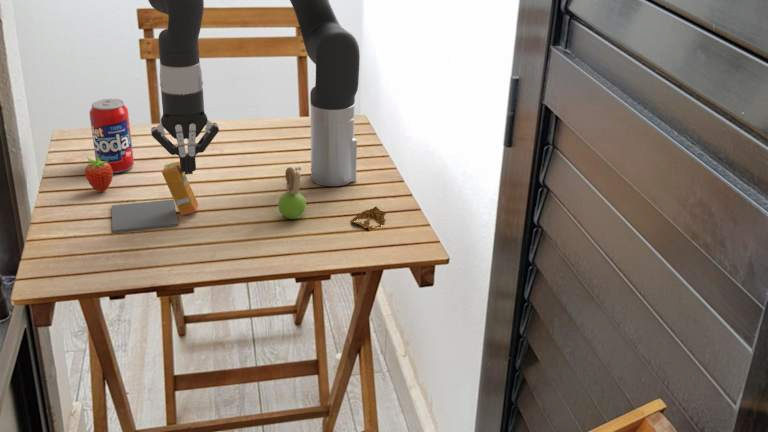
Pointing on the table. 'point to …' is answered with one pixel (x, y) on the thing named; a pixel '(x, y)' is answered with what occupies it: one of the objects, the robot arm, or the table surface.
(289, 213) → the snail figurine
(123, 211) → the mat
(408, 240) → the table surface
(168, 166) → the supplement box
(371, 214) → the leaf
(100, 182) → the fruit
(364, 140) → the table surface
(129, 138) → the soda can
